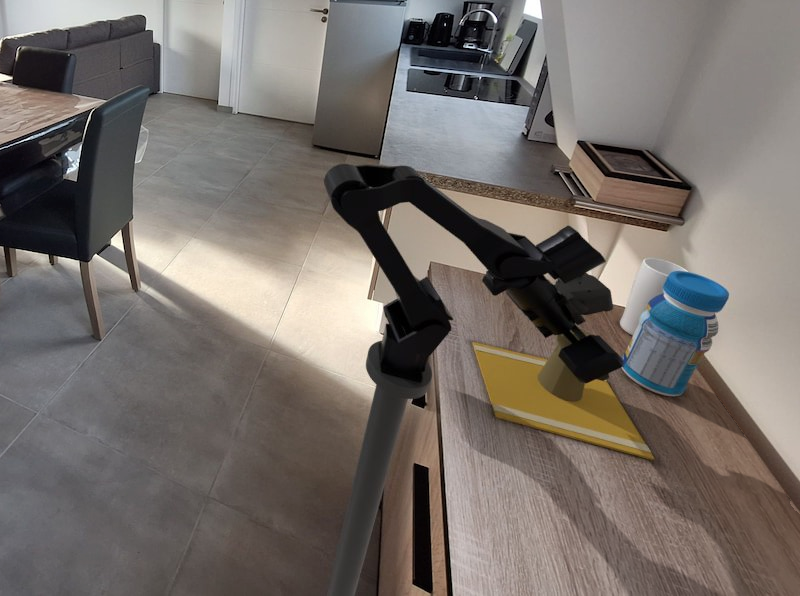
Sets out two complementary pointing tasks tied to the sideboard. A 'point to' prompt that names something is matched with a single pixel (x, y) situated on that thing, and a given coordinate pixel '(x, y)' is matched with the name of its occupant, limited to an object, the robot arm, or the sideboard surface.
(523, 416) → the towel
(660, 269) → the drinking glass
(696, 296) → the blue plastic jar
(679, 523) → the sideboard surface
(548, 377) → the cork
